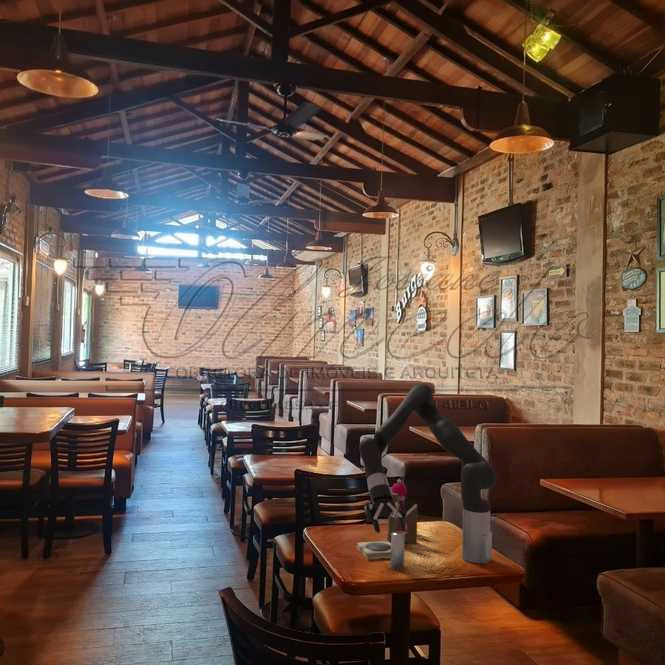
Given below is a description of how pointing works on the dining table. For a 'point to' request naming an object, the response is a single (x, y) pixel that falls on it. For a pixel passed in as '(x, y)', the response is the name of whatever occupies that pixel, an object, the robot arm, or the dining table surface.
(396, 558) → the axle
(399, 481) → the pepper mill
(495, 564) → the dining table surface
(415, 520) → the wooden block
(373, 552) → the rest block
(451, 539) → the dining table surface
